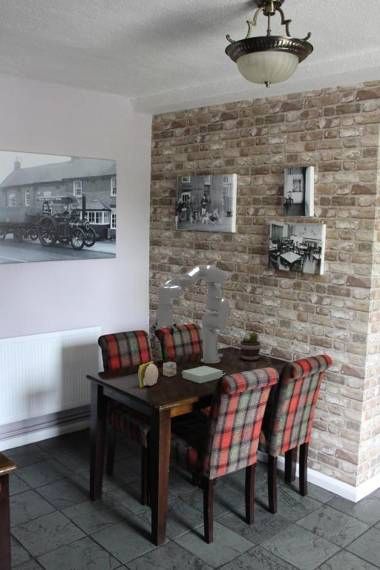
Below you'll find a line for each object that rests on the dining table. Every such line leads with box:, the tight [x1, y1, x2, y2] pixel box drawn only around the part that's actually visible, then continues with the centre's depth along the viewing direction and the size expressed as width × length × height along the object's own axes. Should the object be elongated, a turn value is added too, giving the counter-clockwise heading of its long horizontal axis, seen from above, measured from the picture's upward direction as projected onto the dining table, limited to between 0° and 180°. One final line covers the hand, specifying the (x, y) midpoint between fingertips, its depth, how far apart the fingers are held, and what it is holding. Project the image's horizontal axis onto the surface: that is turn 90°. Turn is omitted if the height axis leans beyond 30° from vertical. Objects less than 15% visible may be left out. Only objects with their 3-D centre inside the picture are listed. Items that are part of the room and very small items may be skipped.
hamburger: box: [137, 360, 159, 388], centre depth 314 cm, size 12×8×12 cm
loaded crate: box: [162, 361, 177, 377], centre depth 335 cm, size 6×6×7 cm
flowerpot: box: [238, 330, 262, 362], centre depth 370 cm, size 14×15×20 cm
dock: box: [182, 365, 224, 384], centre depth 328 cm, size 18×15×4 cm
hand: (164, 335), depth 332 cm, fingers open, 9 cm apart
